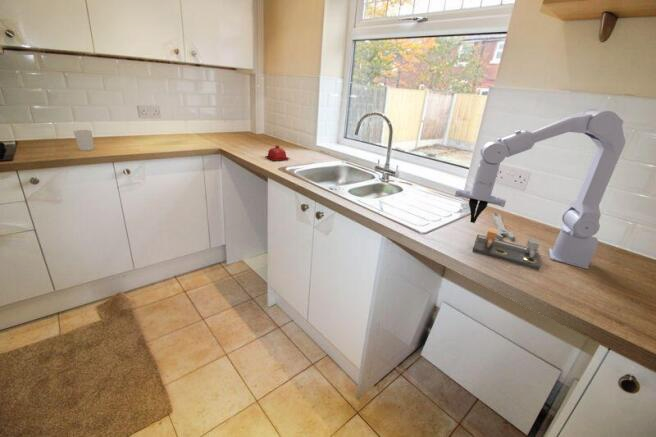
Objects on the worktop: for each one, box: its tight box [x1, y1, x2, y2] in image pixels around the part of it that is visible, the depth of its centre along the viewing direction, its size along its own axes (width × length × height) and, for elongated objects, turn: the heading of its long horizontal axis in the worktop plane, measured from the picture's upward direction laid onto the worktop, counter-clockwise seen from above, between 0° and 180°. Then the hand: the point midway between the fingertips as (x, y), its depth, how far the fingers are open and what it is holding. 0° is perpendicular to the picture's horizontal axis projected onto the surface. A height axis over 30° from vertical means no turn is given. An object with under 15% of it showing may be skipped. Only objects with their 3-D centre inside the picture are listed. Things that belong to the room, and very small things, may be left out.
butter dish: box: [264, 144, 290, 162], centre depth 188 cm, size 12×12×8 cm
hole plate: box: [472, 234, 541, 271], centre depth 98 cm, size 18×12×5 cm, turn 60°
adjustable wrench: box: [491, 212, 515, 242], centre depth 118 cm, size 25×6×2 cm, turn 156°
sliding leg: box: [485, 227, 498, 248], centre depth 100 cm, size 2×8×4 cm, turn 150°
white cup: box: [73, 129, 95, 152], centre depth 174 cm, size 8×8×10 cm
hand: (472, 221), depth 103 cm, fingers closed
